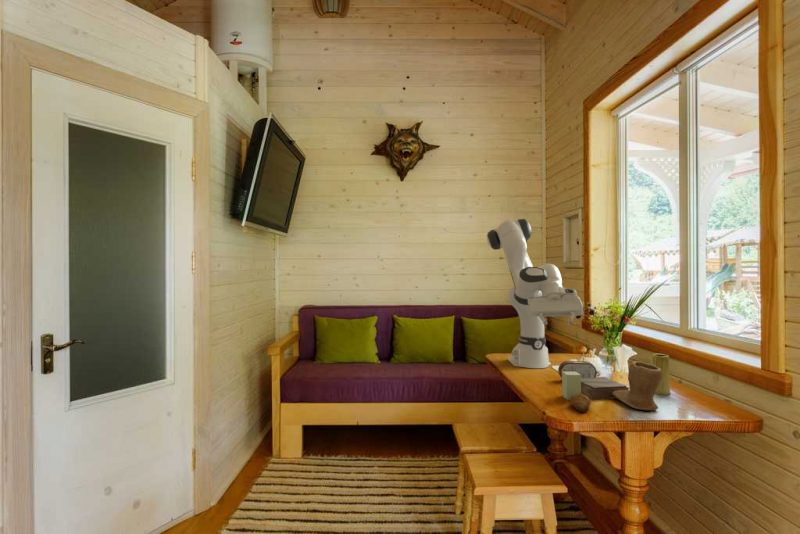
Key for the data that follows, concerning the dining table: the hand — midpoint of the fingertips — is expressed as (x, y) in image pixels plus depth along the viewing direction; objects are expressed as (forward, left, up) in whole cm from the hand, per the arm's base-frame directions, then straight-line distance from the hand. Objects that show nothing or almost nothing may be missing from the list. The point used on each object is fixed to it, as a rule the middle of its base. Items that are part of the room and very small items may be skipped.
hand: (557, 323), depth 167 cm
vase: (+10, +37, -26) cm, 46 cm away
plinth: (+6, +14, -26) cm, 30 cm away
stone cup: (+22, +18, -26) cm, 38 cm away
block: (+10, 0, -26) cm, 28 cm away
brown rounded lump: (+20, -3, -26) cm, 33 cm away
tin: (-10, +15, -26) cm, 32 cm away
